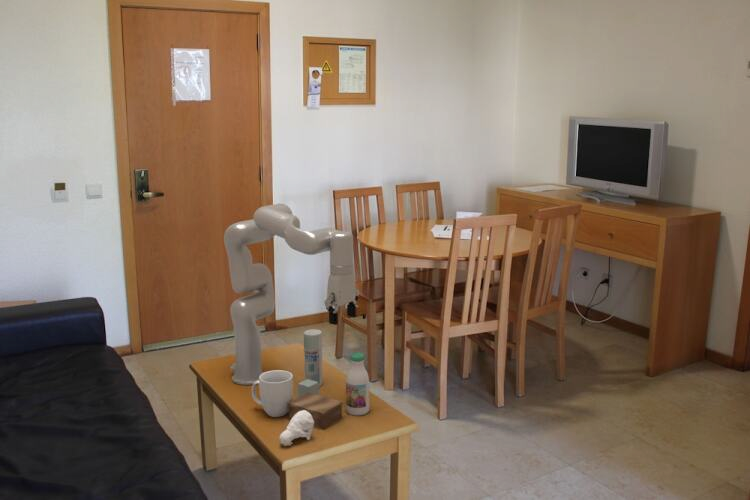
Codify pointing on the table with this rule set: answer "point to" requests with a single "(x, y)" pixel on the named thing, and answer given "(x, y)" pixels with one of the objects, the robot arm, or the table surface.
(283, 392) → the mug
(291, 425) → the white animal figurine
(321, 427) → the walnut box
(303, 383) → the block
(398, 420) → the table surface
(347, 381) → the milk bottle
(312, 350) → the spray can
